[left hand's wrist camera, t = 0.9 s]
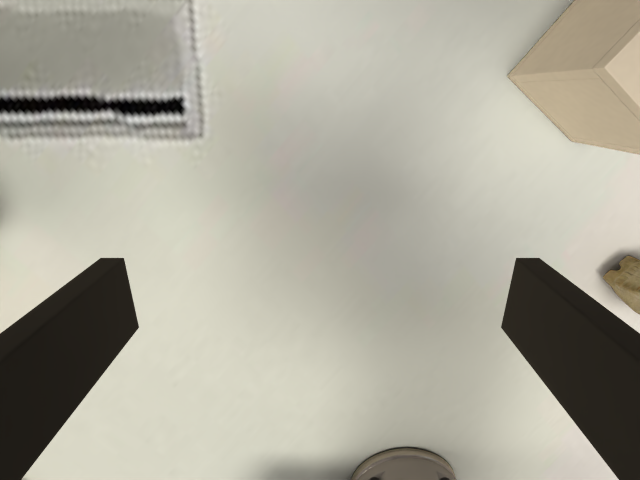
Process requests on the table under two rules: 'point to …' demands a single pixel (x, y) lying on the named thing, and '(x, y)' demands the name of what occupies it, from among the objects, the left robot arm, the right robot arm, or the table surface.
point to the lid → (624, 69)
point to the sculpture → (626, 282)
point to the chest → (582, 74)
